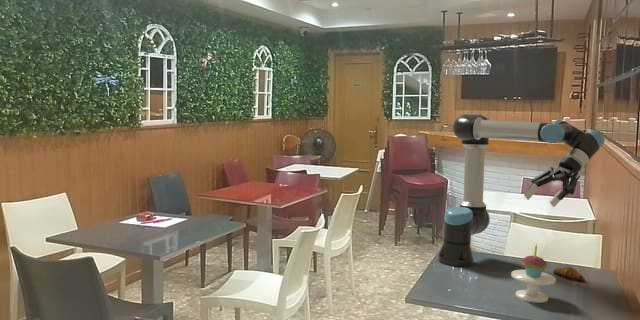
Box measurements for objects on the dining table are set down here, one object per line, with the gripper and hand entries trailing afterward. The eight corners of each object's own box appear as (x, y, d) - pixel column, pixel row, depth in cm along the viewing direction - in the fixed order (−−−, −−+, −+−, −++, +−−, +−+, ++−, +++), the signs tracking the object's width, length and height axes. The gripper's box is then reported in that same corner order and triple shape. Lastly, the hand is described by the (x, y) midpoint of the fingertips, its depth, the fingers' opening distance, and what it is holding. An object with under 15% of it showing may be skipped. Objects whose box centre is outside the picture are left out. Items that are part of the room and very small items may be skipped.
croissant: (589, 282, 221) (590, 270, 220) (579, 284, 217) (580, 272, 216) (558, 272, 232) (559, 261, 231) (548, 274, 228) (549, 263, 228)
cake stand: (504, 298, 195) (506, 276, 195) (515, 287, 208) (517, 267, 207) (549, 308, 187) (551, 285, 186) (557, 296, 200) (559, 275, 199)
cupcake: (547, 280, 192) (550, 246, 191) (522, 277, 194) (524, 244, 192) (543, 273, 200) (545, 241, 199) (518, 270, 202) (521, 239, 201)
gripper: (604, 174, 203) (568, 214, 199) (553, 165, 226) (520, 201, 222) (595, 159, 200) (558, 200, 197) (545, 152, 224) (511, 188, 220)
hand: (538, 200), depth 210 cm, fingers open, 13 cm apart
